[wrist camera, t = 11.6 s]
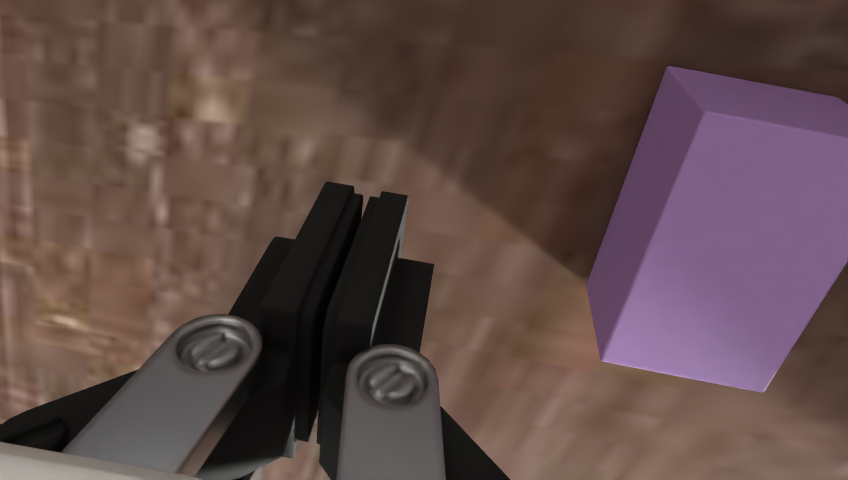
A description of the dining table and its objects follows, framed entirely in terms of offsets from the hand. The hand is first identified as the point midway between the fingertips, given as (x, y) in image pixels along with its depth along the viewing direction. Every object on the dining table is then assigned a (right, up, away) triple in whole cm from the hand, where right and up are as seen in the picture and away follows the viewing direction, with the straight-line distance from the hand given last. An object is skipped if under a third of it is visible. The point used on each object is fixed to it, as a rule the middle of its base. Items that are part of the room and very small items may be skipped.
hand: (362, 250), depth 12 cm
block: (+10, +1, +7) cm, 12 cm away
